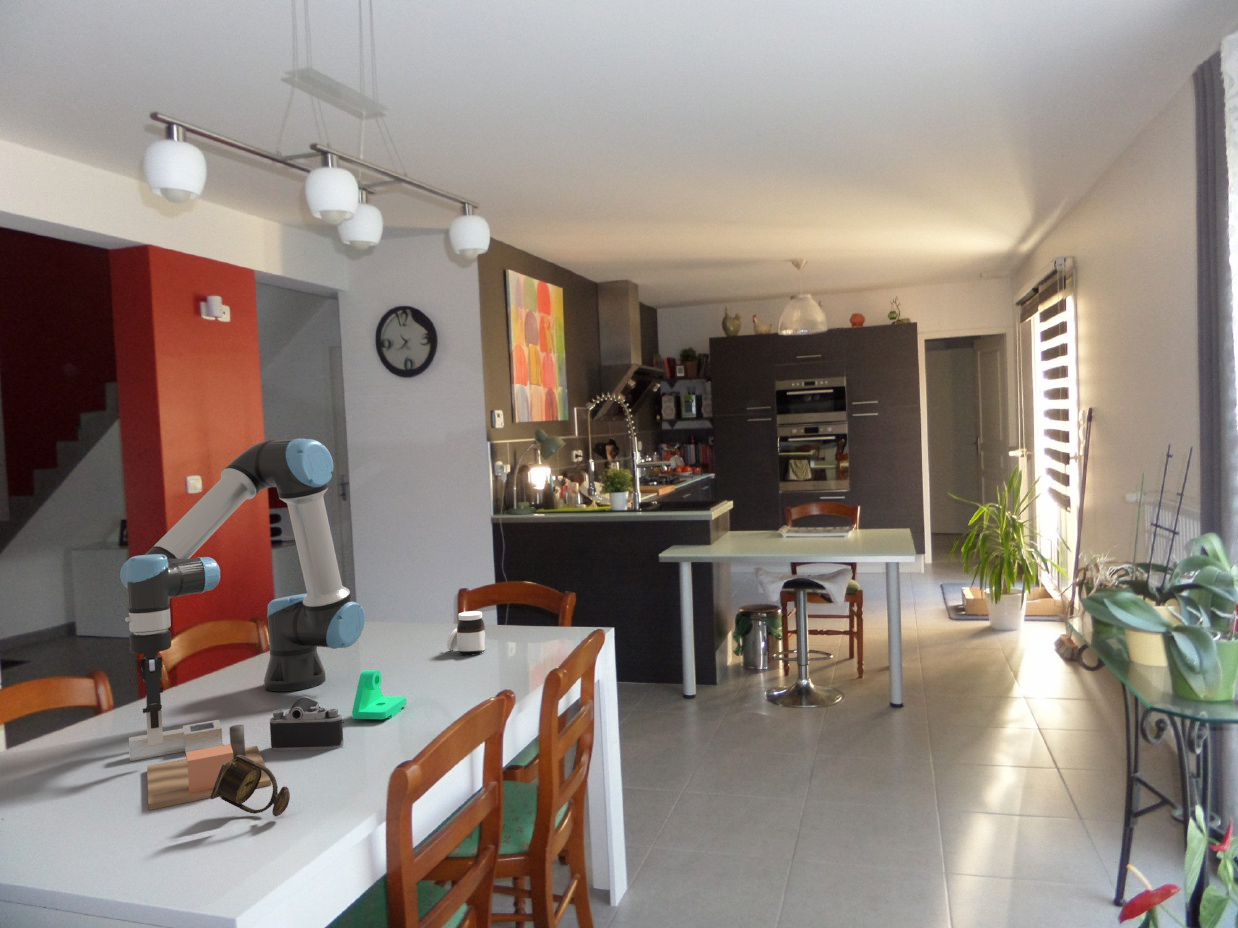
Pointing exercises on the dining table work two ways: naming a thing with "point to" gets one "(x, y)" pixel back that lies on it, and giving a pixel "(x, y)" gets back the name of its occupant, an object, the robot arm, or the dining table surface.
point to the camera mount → (374, 698)
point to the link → (178, 741)
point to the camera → (306, 727)
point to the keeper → (206, 766)
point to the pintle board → (172, 777)
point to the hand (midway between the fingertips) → (154, 734)
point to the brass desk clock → (247, 785)
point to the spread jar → (468, 634)
